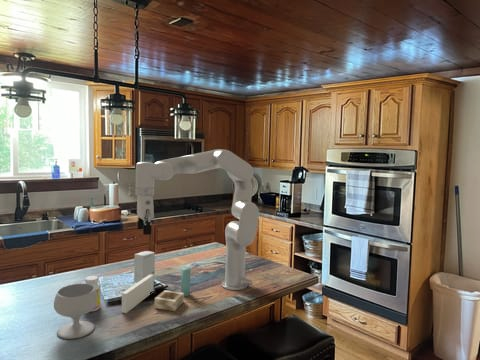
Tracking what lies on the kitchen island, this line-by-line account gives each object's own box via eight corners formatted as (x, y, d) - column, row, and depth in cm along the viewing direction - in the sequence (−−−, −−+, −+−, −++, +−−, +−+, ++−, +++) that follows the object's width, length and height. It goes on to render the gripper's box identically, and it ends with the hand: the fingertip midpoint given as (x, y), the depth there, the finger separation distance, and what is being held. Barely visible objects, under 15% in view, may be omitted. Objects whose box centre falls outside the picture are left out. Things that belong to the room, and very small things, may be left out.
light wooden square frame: (183, 302, 151) (183, 293, 151) (174, 311, 142) (174, 301, 142) (164, 298, 153) (164, 290, 153) (154, 307, 144) (154, 298, 144)
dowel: (191, 293, 160) (191, 268, 159) (187, 297, 156) (188, 270, 155) (183, 292, 161) (183, 266, 160) (179, 295, 157) (180, 269, 156)
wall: (153, 291, 161) (153, 274, 160) (126, 313, 139) (126, 293, 139) (149, 291, 161) (149, 274, 160) (121, 312, 140) (121, 293, 139)
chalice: (104, 322, 132) (104, 283, 130) (85, 342, 118) (85, 299, 116) (68, 319, 133) (67, 281, 131) (45, 339, 119) (44, 297, 117)
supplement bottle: (79, 312, 139) (79, 280, 137) (85, 304, 145) (85, 274, 144) (97, 312, 139) (97, 281, 138) (102, 305, 146) (102, 274, 144)
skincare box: (142, 287, 165) (143, 256, 164) (133, 284, 168) (133, 253, 167) (155, 281, 173) (155, 251, 171) (146, 278, 176) (146, 249, 174)
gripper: (159, 194, 142) (158, 235, 143) (148, 188, 157) (147, 226, 158) (140, 194, 138) (140, 237, 140) (131, 189, 153) (130, 227, 154)
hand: (144, 231), depth 149 cm, fingers open, 9 cm apart
